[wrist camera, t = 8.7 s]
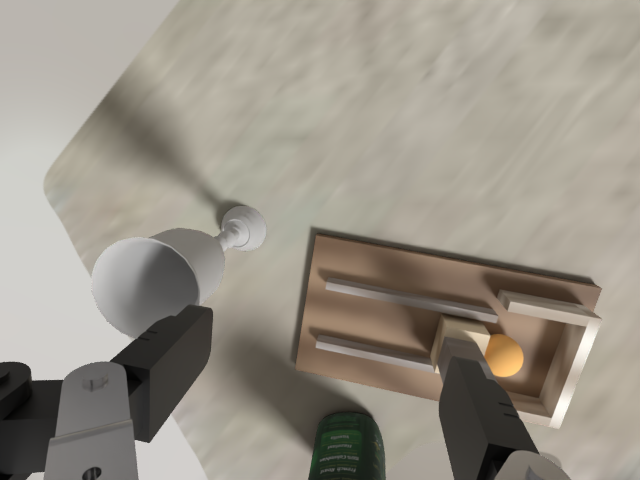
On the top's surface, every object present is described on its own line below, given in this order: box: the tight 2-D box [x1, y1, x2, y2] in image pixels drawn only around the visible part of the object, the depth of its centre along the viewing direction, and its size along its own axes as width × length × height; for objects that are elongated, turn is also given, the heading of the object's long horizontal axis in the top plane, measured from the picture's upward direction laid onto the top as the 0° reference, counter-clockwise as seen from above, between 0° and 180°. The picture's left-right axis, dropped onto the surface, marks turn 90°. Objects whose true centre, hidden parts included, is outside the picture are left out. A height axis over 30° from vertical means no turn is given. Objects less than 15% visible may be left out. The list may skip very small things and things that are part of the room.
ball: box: [484, 334, 523, 377], centre depth 36 cm, size 4×4×4 cm
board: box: [295, 233, 602, 429], centre depth 38 cm, size 16×28×4 cm, turn 81°
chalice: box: [92, 206, 266, 339], centre depth 31 cm, size 7×7×18 cm
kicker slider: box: [430, 313, 498, 384], centre depth 33 cm, size 5×4×10 cm
